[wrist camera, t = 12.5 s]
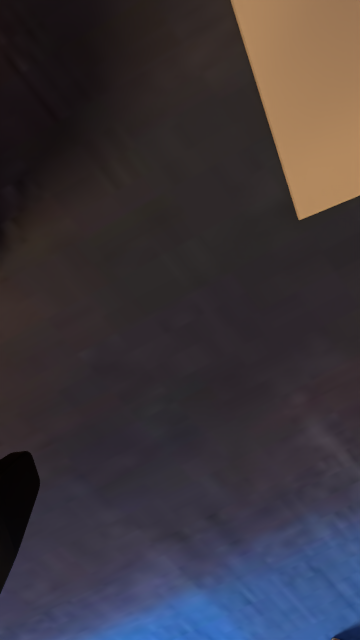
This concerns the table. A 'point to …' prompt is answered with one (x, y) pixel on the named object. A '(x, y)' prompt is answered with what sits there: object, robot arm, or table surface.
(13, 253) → the table surface
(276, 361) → the table surface
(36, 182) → the table surface
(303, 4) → the carton
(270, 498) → the table surface
